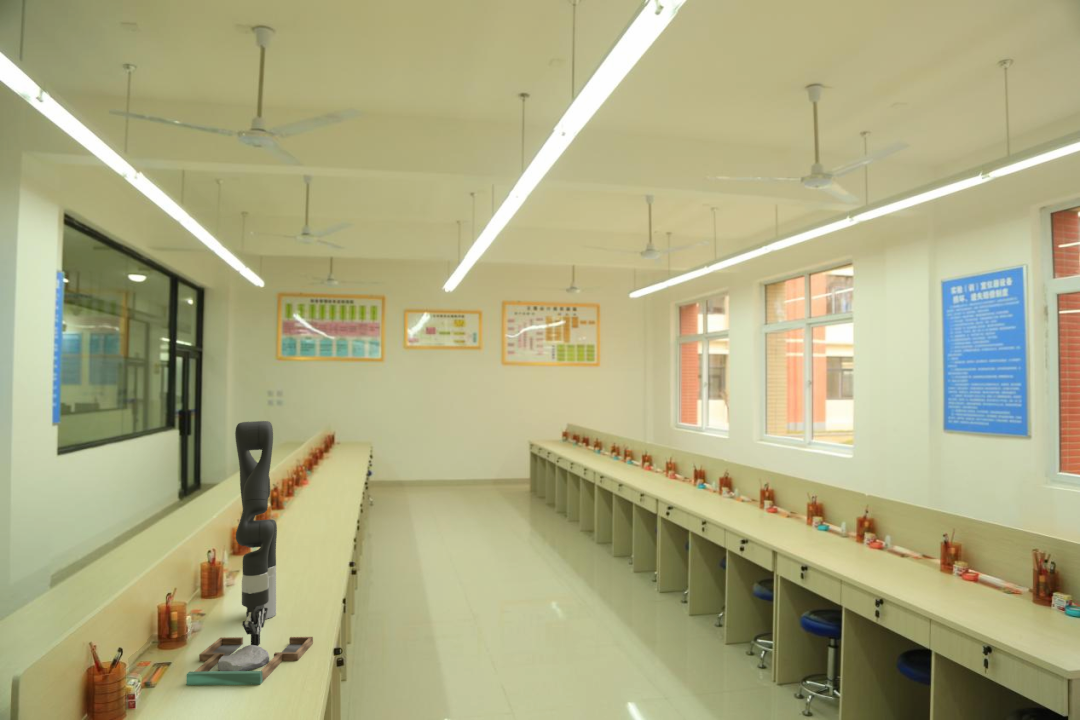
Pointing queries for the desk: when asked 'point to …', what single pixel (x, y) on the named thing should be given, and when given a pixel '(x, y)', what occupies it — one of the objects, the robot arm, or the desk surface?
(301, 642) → the trap lane
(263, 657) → the stone block
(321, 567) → the desk surface
